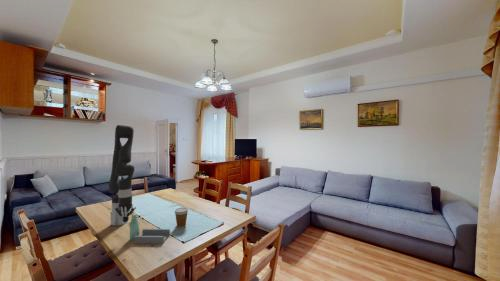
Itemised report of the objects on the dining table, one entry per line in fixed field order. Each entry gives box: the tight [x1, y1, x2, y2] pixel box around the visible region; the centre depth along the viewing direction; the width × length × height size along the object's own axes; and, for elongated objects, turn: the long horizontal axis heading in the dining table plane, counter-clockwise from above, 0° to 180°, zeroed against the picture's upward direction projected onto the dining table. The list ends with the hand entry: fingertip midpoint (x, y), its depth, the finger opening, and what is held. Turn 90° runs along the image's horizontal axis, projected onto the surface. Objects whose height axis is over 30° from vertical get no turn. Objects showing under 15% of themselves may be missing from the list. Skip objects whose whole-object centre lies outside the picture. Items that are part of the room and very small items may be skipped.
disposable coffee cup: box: [174, 207, 189, 228], centre depth 147 cm, size 10×10×12 cm
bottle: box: [129, 212, 140, 242], centre depth 128 cm, size 5×5×16 cm
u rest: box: [133, 228, 171, 244], centre depth 129 cm, size 18×10×4 cm, turn 90°
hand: (125, 221), depth 128 cm, fingers closed
